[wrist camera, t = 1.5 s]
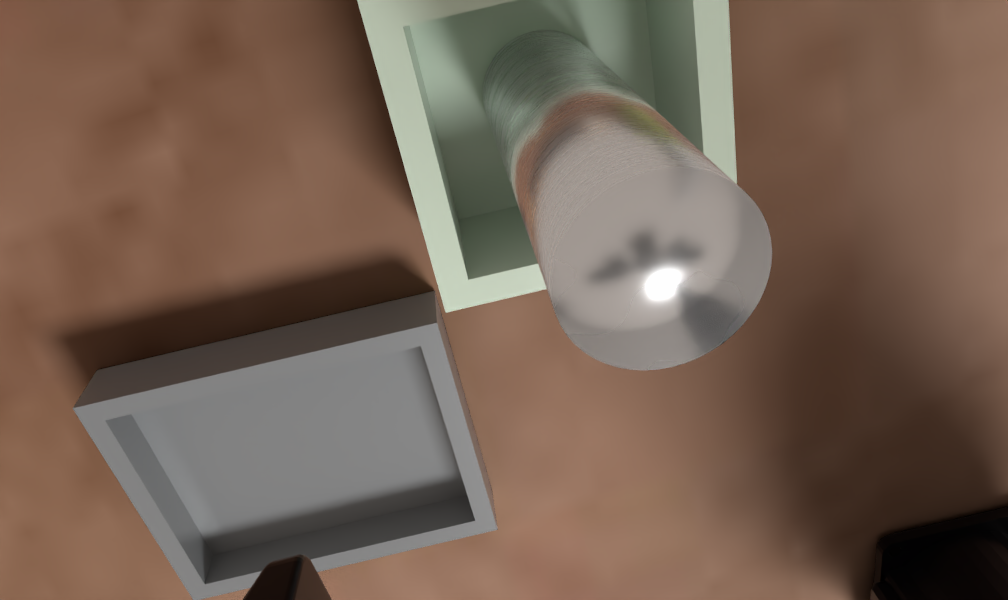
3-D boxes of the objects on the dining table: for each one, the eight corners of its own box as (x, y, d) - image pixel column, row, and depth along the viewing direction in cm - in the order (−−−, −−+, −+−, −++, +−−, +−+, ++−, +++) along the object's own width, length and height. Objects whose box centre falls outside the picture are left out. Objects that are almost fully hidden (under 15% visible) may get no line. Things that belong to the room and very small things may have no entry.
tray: (434, 290, 22) (437, 322, 20) (491, 490, 26) (497, 529, 24) (96, 370, 22) (72, 408, 20) (206, 556, 26) (193, 601, 24)
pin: (593, 16, 18) (769, 143, 9) (608, 136, 19) (774, 343, 11) (470, 45, 18) (532, 199, 9) (496, 162, 19) (569, 390, 11)
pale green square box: (660, -96, 17) (724, -91, 14) (683, 183, 21) (739, 243, 17) (365, -27, 17) (355, -4, 14) (438, 240, 21) (445, 312, 17)
